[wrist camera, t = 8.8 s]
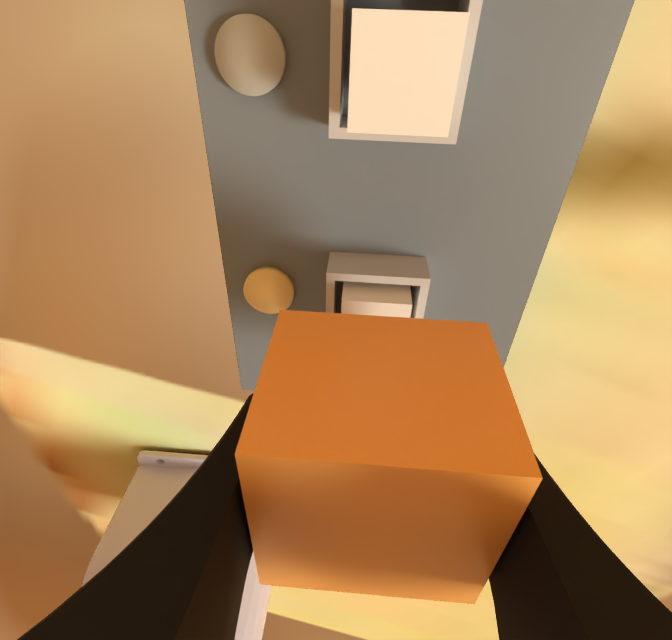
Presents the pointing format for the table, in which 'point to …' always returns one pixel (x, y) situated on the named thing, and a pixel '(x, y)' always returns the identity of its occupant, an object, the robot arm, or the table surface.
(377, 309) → the button
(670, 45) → the table surface
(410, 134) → the button
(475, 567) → the orange block
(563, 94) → the breaker panel
